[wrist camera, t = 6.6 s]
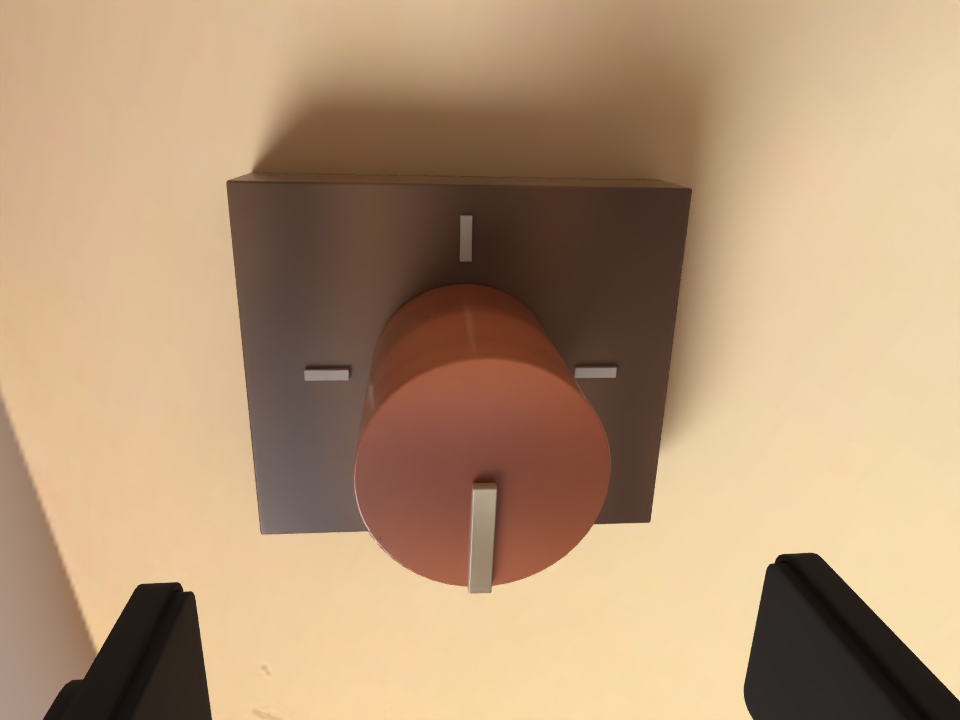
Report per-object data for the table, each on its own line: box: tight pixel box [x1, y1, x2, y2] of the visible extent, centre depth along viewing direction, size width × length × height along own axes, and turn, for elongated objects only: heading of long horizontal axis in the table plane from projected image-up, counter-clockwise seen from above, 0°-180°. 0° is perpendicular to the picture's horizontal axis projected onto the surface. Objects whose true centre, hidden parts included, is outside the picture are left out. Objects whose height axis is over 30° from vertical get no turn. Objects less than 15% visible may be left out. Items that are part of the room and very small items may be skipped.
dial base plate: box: [226, 173, 692, 534], centre depth 24 cm, size 14×12×3 cm
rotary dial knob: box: [353, 284, 611, 593], centre depth 19 cm, size 6×6×7 cm
